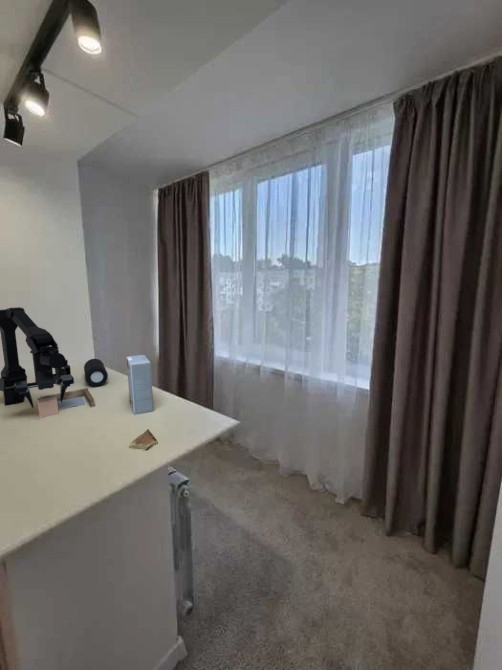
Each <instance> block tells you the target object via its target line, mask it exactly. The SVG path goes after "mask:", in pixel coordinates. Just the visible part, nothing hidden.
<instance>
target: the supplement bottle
mask: <svg viewBox="0 0 502 670" xmlns="http://www.w3.org/2000/svg"><path fill="white" fill-rule="evenodd" d="M68 363H69V361H68V359H66V358H65V364H64V365H63V366H62V367H61V368H58V369H55V368H54V374H57V373H58V374H59V378H61V376H62V375H69V374H71V375H72V372H71V371H72V370H71V365H70V364H68ZM58 385H59V386H60V383H58V384H57V386H58Z"/></svg>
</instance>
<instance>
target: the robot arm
mask: <svg viewBox="0 0 502 670" xmlns="http://www.w3.org/2000/svg"><path fill="white" fill-rule="evenodd" d="M18 328H19V329H20V331H22V333H23V334H24V335H25V343H26V344H27V346H28V347H29V349H30V351H29V352H30V354H32V362H33V369H34V370H33V372H34V380H35V381H34V382H29V383H28V375H27V373H26V369H25V368H23V367H22V366H21V364H20V359H19V351H18V343H17V333H16V330H17V329H18ZM0 338H1V346H2V347H1V348H2V354H3V362H4V366H3V368H2V369H1V372H0V392H3V397H4V398H3V399H4V404H3V405H4V406H9V405H15V404H19V403H24V402H25V399H27V401H28V403H29V404H30V406H31V408H33V409H34V401H33V396H32V395H31V390H30V389H32V388H37V389H38V390H39V391H42V390H43V391H44V390H45V389H53V388H54V387H55V385H58V383H60V385H59V388H60V390H59V393H60V400H61V402H62V401H63V397H64V393H65V392H67V391H66V390H67V388H69V387H71V385H74V384H75V379H74V376H73V375H72V373H71V374H69V375H62V376H61V378H59V374H58V373H57V374H55V373H53V369H54V370H55V369H58V368H61V367H62V366H63V365H64V364H65V359H66V357H65V356H64V354H62V353H60V351H59V346H58V345H59V344H58V343H57V342H56V340H55V338H54V337H53V335H52V334H51V333H50V332H49V331H47V329H45V328H42V327H39V326H38V325H37V324H36V323H35V322H34V320H32V318H30V316H29V315H28V314H27V313H26V311H25V309H24V307H20V306H19V307H9V308H5V309H0Z"/></svg>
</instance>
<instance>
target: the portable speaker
mask: <svg viewBox="0 0 502 670" xmlns="http://www.w3.org/2000/svg"><path fill="white" fill-rule="evenodd" d="M83 365H84V366H83V370H84V371H83V373H84V377H85V381H86V382H87V384H88V385H90V386H91V387H92V386H93V387H99V386H103V384H105V383H106V382H107V380H108V377H109V375H108V371H107V369H106V366H105V364H104V362H103V361H102V360H100V359H98V358H91V359H89V360H87V361H86V362H85V363H84V364H83Z"/></svg>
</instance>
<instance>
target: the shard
mask: <svg viewBox="0 0 502 670" xmlns="http://www.w3.org/2000/svg"><path fill="white" fill-rule="evenodd" d="M158 443H159V442H158V440H157V438H156V437H155V435H154V434H153V433H152V432H151V431H150V430H149V429H148V428H147V429H146V430H145V431H144V432H143V433H141V434H139V436H136V438H134V439H133V441H132V442H130V443H129V445H128V448H129V449H134V448H138V449H137V450H141V449H146V450H147V449H149V448H151V447H153V446H152V445H154V444H157V445H158ZM150 446H151V447H150ZM154 446H155V445H154ZM148 447H149V448H148Z"/></svg>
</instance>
